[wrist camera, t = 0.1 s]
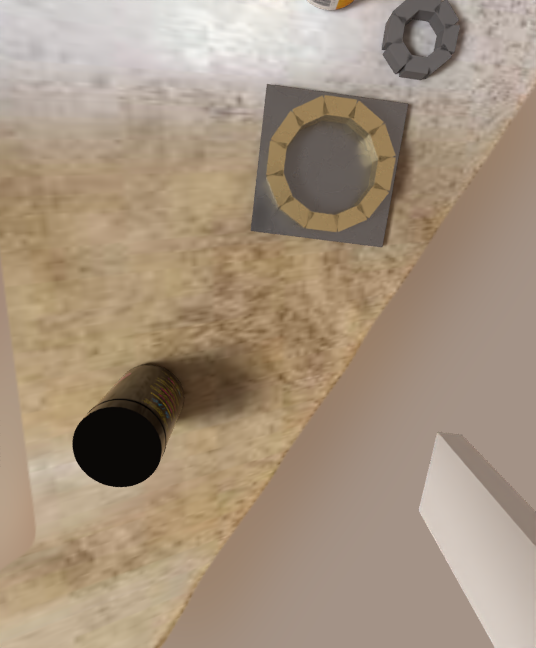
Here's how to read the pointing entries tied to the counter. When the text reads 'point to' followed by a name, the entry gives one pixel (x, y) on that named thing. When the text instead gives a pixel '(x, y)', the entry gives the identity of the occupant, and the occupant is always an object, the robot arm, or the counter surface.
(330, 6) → the beer can
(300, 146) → the collar block
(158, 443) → the supplement container
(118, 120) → the counter surface
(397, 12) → the ring
